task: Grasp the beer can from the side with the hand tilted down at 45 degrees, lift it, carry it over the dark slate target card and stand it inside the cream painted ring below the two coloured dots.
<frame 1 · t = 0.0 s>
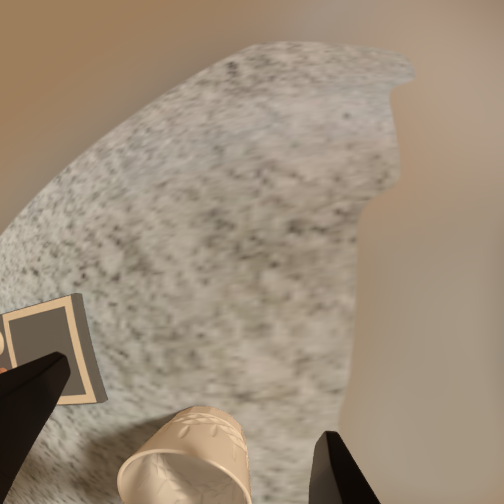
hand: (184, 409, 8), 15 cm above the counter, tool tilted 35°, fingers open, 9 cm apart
slate card: (35, 356, 22), on the counter
white cup: (206, 438, 21), on the counter
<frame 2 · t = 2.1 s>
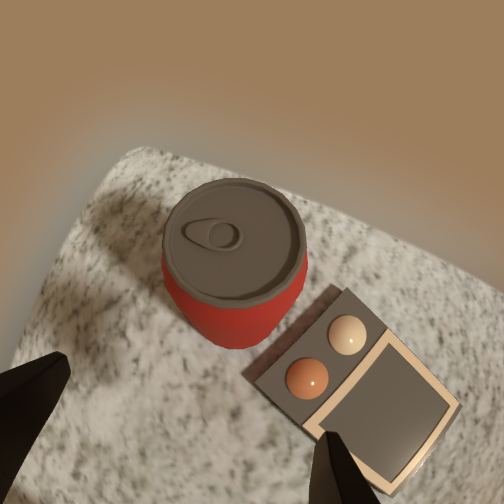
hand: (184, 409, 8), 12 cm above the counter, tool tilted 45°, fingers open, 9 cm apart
beer can: (235, 307, 22), on the counter
slate card: (371, 402, 19), on the counter
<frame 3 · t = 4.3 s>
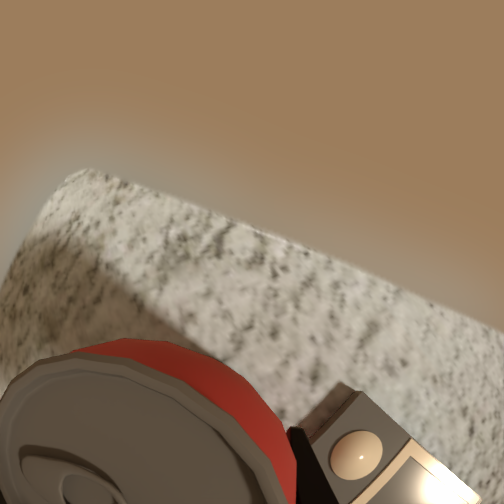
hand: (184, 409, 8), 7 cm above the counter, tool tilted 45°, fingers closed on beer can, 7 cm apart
beer can: (200, 417, 14), on the counter, touching gripper
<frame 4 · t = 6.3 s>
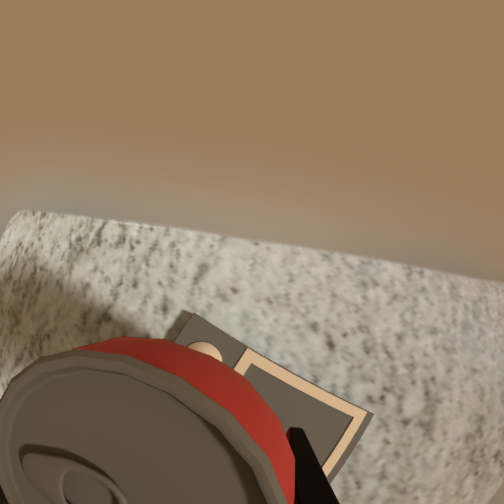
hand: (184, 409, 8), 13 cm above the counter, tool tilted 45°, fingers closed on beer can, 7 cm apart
beer can: (200, 416, 14), point 6 cm above the counter, touching gripper
slate card: (250, 423, 19), on the counter
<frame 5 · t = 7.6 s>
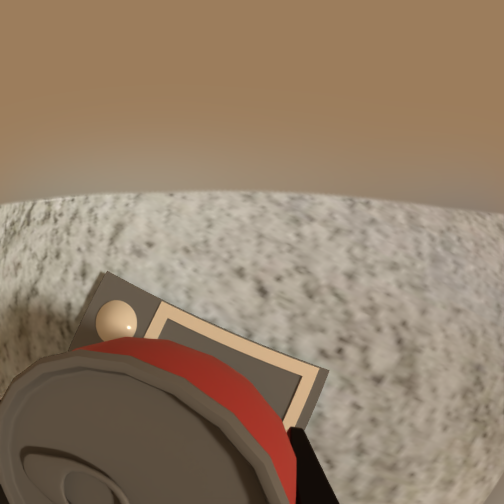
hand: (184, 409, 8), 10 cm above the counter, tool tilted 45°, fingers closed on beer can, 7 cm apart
beer can: (201, 416, 14), point 3 cm above the counter, touching gripper
slate card: (179, 392, 17), on the counter
when the fingers open (8 cm above the counter, at t = 8.4 s): beer can stays where it is, resting on slate card.
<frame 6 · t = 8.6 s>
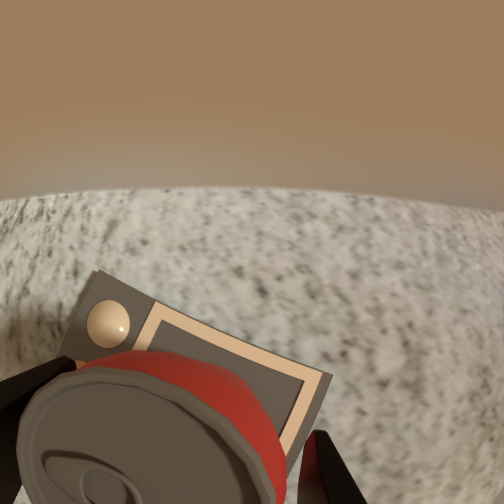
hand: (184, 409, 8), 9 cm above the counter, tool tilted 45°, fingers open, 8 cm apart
beer can: (201, 417, 15), point 1 cm above the counter, touching slate card
slate card: (174, 398, 16), on the counter
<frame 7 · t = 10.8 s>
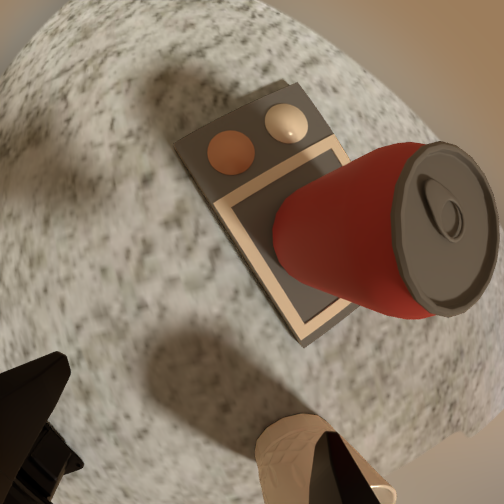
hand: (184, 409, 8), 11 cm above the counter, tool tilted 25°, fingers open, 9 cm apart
beer can: (317, 235, 19), point 1 cm above the counter, touching slate card
slate card: (299, 209, 20), on the counter
white cup: (293, 442, 21), on the counter
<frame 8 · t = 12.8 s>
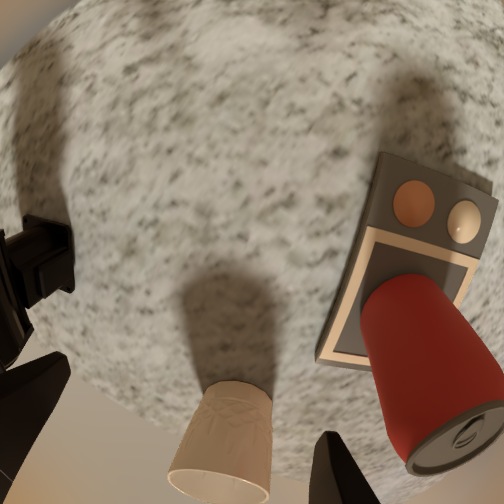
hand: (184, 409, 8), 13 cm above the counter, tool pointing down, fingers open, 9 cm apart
beer can: (400, 309, 19), point 1 cm above the counter, touching slate card
slate card: (409, 281, 19), on the counter
white cup: (238, 401, 26), on the counter
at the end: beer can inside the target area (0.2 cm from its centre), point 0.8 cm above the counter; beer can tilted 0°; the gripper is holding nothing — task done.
